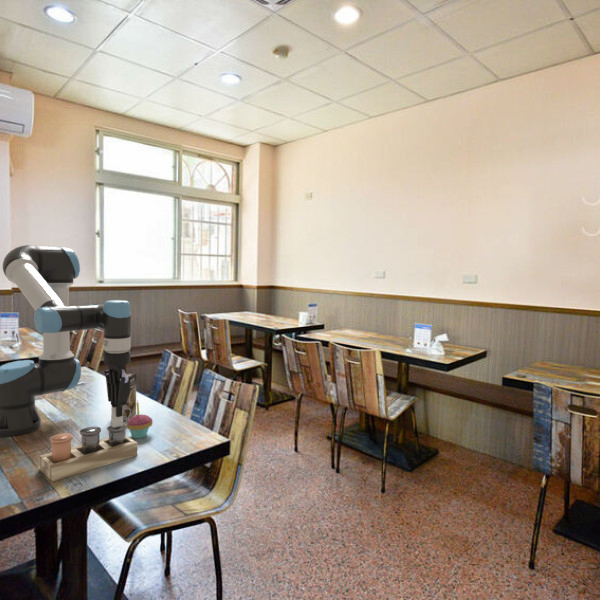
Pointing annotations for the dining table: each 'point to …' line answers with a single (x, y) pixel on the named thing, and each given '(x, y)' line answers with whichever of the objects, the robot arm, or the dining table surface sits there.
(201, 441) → the dining table surface
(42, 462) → the wooden holder
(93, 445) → the plug
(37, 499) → the dining table surface
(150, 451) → the dining table surface
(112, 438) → the plug
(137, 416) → the cupcake
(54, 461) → the plug terracotta
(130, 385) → the coffee box
